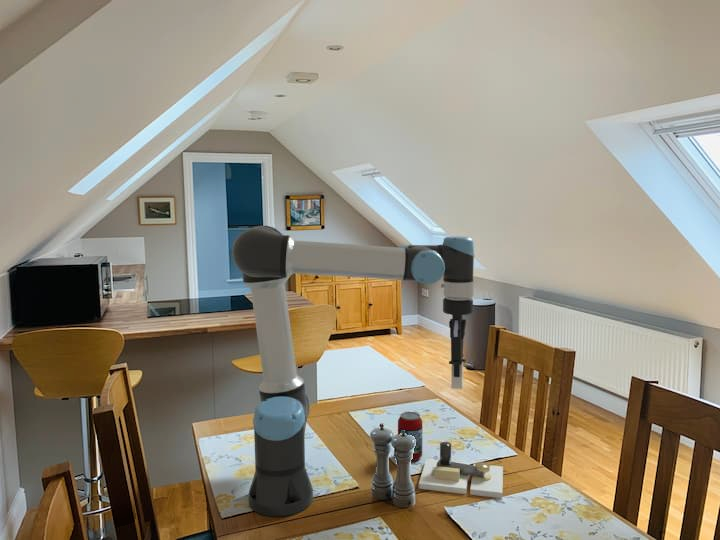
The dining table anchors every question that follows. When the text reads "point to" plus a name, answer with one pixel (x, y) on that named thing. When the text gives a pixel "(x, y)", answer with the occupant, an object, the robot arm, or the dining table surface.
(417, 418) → the beverage can
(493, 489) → the block
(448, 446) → the latch bar
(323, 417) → the dining table surface
